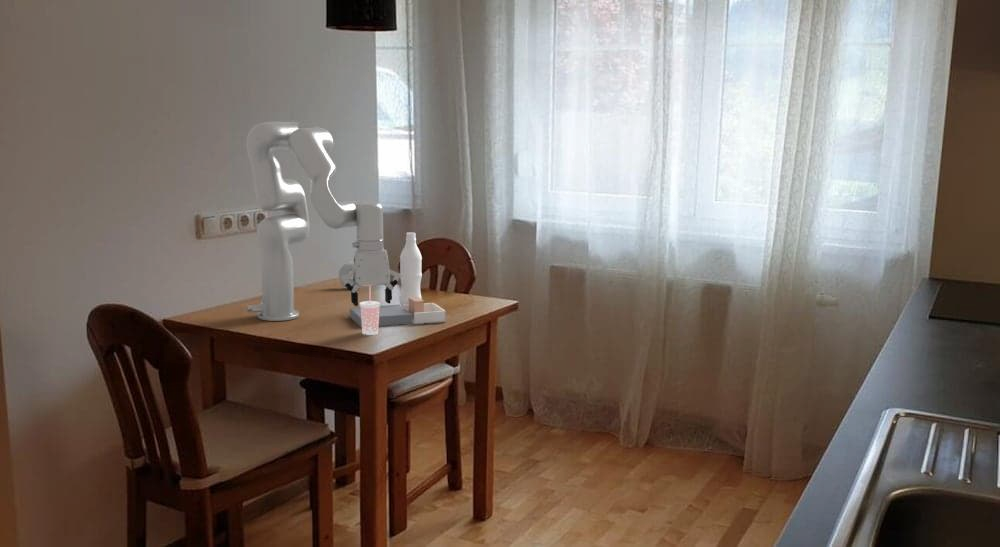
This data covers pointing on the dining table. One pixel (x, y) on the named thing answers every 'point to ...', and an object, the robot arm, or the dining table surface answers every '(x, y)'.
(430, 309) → the tray
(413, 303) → the terracotta tile
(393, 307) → the slate board
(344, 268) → the donut
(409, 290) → the water bottle
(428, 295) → the dining table surface
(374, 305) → the beverage cup
